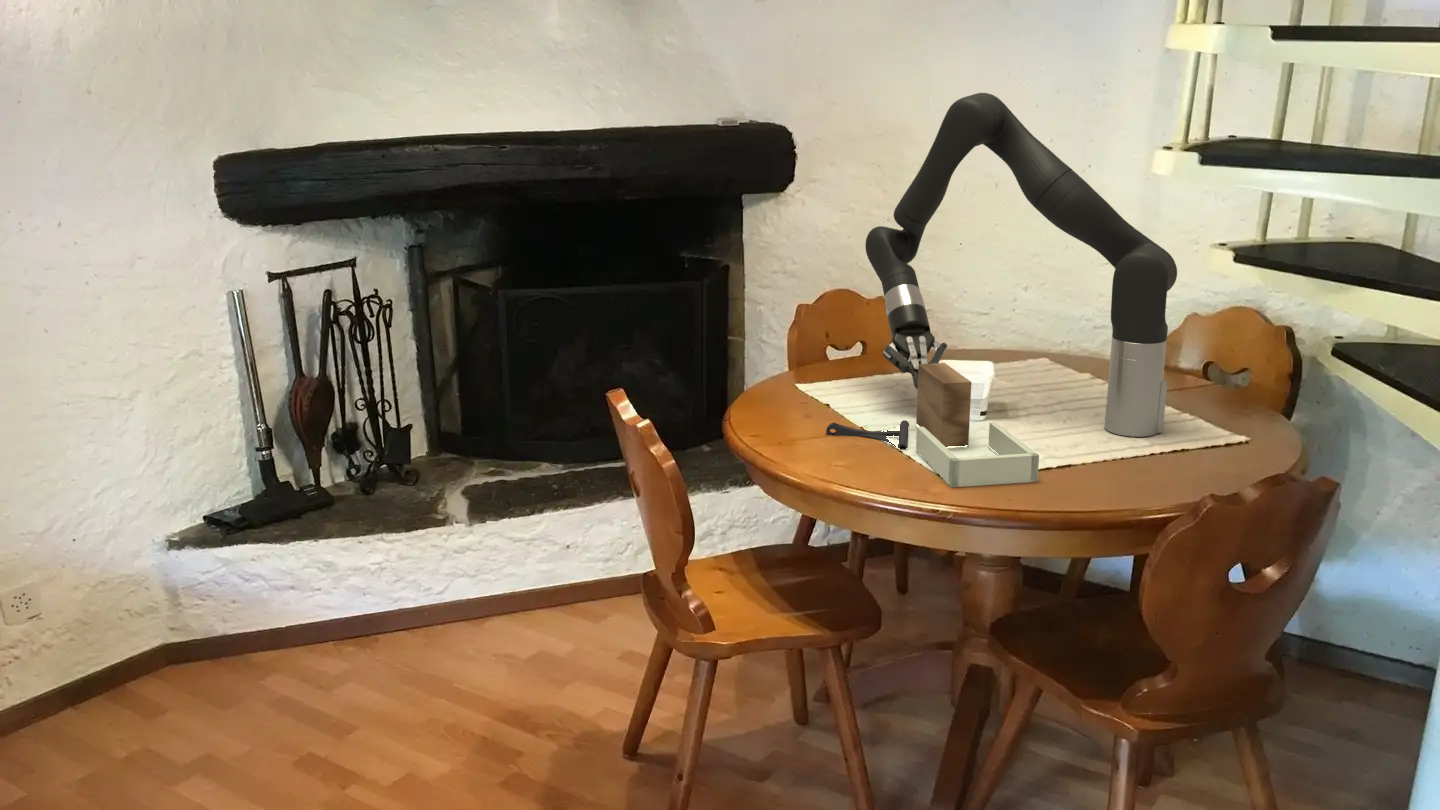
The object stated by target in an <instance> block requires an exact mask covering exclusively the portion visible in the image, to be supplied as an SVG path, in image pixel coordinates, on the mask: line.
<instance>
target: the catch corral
mask: <svg viewBox="0 0 1440 810" xmlns="http://www.w3.org/2000/svg"><path fill="white" fill-rule="evenodd" d="M988 432H989V433H988V445H989V446H990V447H991V448H992V449H993V450H995V451H996V452H997V453H998V454H999V455H997V454H996V455H994V454H993V455H981V456H967V457H957V456H956V455H955V454H954V453H953V452H951V451H950V449H947V448H946V447H945V446H944V445H943V444H942V443H941V442H940V441H938V440H937V439H936V438H935V437H934V436H933V435H932V434H931V433H930V432H929V431H928V430H927V429H926V428H925V427H917V426H916V436H915V438H916V441H915V451H916V450H917V452H918V453H919V454H920V455H921V456H922V457H923V458H924V459H925V460H926V461H927V462H928V463H929V464H930V465H931V466H932V467H933V468H934V469H933V468H932V467H931V466H930V465H929V464H928V463H927V462H926V461H925V460H924V459H923V458H922V457H921V456H920V455H919V454H918V453H917V452H916V453H917V454H918V455H919V456H920V457H921V458H922V459H923V460H924V461H925V462H926V463H927V464H928V465H929V466H930V467H931V468H932V469H933V471H934V472H935V473H936V474H937V473H938V474H939V475H940V476H939V475H938V474H937V475H938V476H939V477H940V478H941V479H942V478H943V479H942V480H943V481H944V482H945V483H946V484H947V485H948V486H949V487H950V488H961V487H962V488H963V487H978V486H979V487H980V486H992V485H993V486H994V485H1009V484H1025V483H1037V482H1038V478H1039V466H1040V464H1039V463H1040V455H1039V454H1038V452H1036V451H1035V450H1033V449H1032V448H1031V447H1029V446H1028V445H1027V444H1025V443H1024V442H1023V441H1021V440H1020V439H1019V438H1017V437H1016V436H1015V435H1013V433H1011V432H1010V431H1008V429H1006V428H1004V426H1001V425H1000V424H999V423H998V422H996V421H995V422H989V429H988Z"/></svg>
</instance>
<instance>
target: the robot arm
mask: <svg viewBox="0 0 1440 810" xmlns="http://www.w3.org/2000/svg"><path fill="white" fill-rule="evenodd" d="M980 145H983V146H985V147H987V148H988V149H989V150H990V151H991V152H993V153H994V154H995V155H997V156H998V158H1000V159H1001V160H1002V161H1003V162H1004V163H1005V164H1006V165H1007V166H1008V167H1009V169H1010V171H1011V172H1012V174H1013V176H1014V177H1015V180H1016V182H1017V184H1018V186H1019V188H1020V190H1021V192H1022V194H1023V195H1024V197H1025V199H1026V200H1027V201H1028V202H1029V204H1031V206H1032V207H1033V208H1035V210H1037V212H1039V213H1040V214H1041V215H1042V216H1043V217H1045V219H1046V220H1047V221H1049V222H1050V223H1051V224H1052V225H1054V226H1055V227H1057V228H1058V229H1059V230H1061V231H1062V232H1064V233H1066V235H1067V234H1068V235H1069V236H1071V237H1072V238H1075V239H1076V240H1078V241H1080V242H1082V243H1084V244H1085V245H1087V246H1089V247H1091V248H1092V249H1094V250H1095V251H1096V252H1098V253H1099V254H1100V255H1101V256H1102V257H1103V258H1104V259H1105V260H1106V261H1107V262H1108V263H1109V264H1110V265H1111V266H1112V267H1113V268H1114V272H1113V276H1112V284H1111V286H1112V287H1111V302H1110V303H1111V304H1110V322H1111V326H1112V333H1111V343H1110V358H1109V359H1110V360H1109V368H1108V370H1109V371H1108V381H1107V382H1108V383H1107V392H1106V394H1107V395H1106V404H1105V406H1106V407H1105V416H1104V429H1105V430H1106V431H1108V432H1109V433H1112V434H1115V435H1120V436H1124V437H1125V436H1126V437H1134V438H1135V437H1137V438H1141V437H1151V436H1154V435H1156V434H1162V433H1163V431H1164V424H1165V423H1164V421H1165V410H1166V401H1167V392H1168V391H1167V390H1168V382H1167V381H1166V380H1165V379H1164V371H1165V370H1164V369H1165V362H1166V353H1167V351H1166V350H1167V341H1168V330H1169V328H1168V327H1169V326H1168V324H1167V323H1168V322H1167V321H1166V309H1167V297H1168V291H1170V290H1171V289H1172V288H1173V287H1174V285H1175V283H1176V281H1177V277H1178V268H1177V265H1176V262H1175V260H1174V258H1173V256H1172V255H1171V253H1169V252H1168V251H1167V250H1165V249H1164V248H1163V247H1161V246H1160V245H1159V244H1157V243H1156V242H1154V241H1153V240H1152V239H1150V238H1149V237H1148V236H1146V235H1144V234H1143V233H1142V232H1141V231H1139V230H1138V229H1136V227H1134V226H1132V225H1131V224H1130V223H1129V222H1128V221H1127V220H1125V219H1124V218H1123V217H1122V216H1121V215H1120V214H1119V213H1118V212H1117V211H1116V210H1115V208H1113V206H1112V205H1110V203H1108V201H1106V200H1105V198H1104V197H1102V196H1101V194H1099V193H1098V192H1097V191H1096V190H1095V189H1094V188H1093V187H1092V186H1091V185H1090V184H1089V183H1088V182H1087V181H1085V179H1084V178H1082V177H1081V176H1080V175H1079V174H1078V173H1077V172H1076V171H1074V170H1073V168H1071V167H1070V166H1069V165H1068V164H1066V163H1065V162H1064V161H1063V160H1061V159H1060V158H1059V156H1057V155H1056V154H1055V153H1054V152H1053V151H1051V150H1050V148H1048V147H1047V146H1046V145H1045V144H1044V143H1042V142H1041V141H1040V140H1038V139H1037V138H1036V137H1035V136H1034V134H1032V133H1031V131H1029V130H1028V129H1027V128H1026V126H1025V125H1024V124H1023V123H1022V122H1021V121H1020V120H1019V118H1018V117H1017V116H1016V115H1015V114H1013V112H1012V110H1010V108H1008V106H1007V105H1006V104H1005V103H1004V102H1003V101H1002V99H1000V98H998V96H995V95H994V94H991V93H988V92H977V93H974V94H971V95H967V96H964V97H961V98H959V99H957V100H955V101H954V102H953V103H952V104H951V105H950V107H949V108H948V109H947V111H946V113H945V115H944V117H943V119H942V122H941V125H940V127H939V129H938V132H937V134H936V137H935V138H934V140H933V143H932V145H931V147H930V150H929V151H928V154H927V155H926V157H925V160H924V161H923V163H922V165H921V166H920V169H919V170H918V172H917V173H916V175H915V177H914V179H913V180H912V182H911V183H910V185H909V186H908V188H907V189H906V191H905V193H904V194H903V195H902V197H901V199H900V200H899V202H898V203H897V204H896V206H895V208H894V211H893V220H894V221H895V222H896V224H897V225H898V226H900V228H902V229H897V228H893V227H888V226H876V227H873V228H872V229H871V230H869V232H868V234H867V236H866V239H865V244H864V245H865V246H864V247H865V252H866V256H867V259H868V260H869V263H870V264H871V267H872V268H873V271H874V272H875V273H876V276H877V277H878V278H879V280H880V283H881V286H882V287H881V288H882V292H883V297H884V301H885V302H884V303H885V311H886V313H885V315H886V317H887V320H888V325H889V331H890V334H891V341H890V344H888V345H887V344H886V345H885V347H884V350H883V351H882V357H884V358H885V359H886V360H887V361H888V362H890V363H891V364H892V365H893V366H894V367H896V368H897V369H898V370H899V371H900V372H901V373H903V374H905V373H909V374H911V377H912V381H913V386H914V388H915V389H916V390H918V364H931V363H940V362H939V361H940V360H941V358H942V357H943V355H944V353H945V351H946V349H947V348H948V344H947V343H946V342H941V343H940V342H938V341H937V340H936V338H935V336H934V335H933V333H932V331H931V327H930V322H929V317H928V313H927V309H926V306H925V301H924V298H923V295H922V293H921V290H920V286H919V282H918V277H917V274H916V273H917V272H916V271H915V269H914V267H912V266H911V265H910V264H909V263H911V262H912V261H913V260H914V259H915V258H916V256H917V253H918V251H919V247H920V244H921V242H922V241H921V240H922V238H923V235H924V233H925V230H926V226H927V225H928V223H929V222H930V220H931V219H932V217H934V214H935V213H936V212H937V210H938V208H939V207H940V205H941V204H942V202H943V200H944V198H945V196H946V193H947V192H948V191H947V190H948V187H949V184H950V181H951V178H952V176H953V175H954V172H955V170H956V169H957V167H958V166H959V165H960V164H961V162H962V161H963V160H964V158H965V157H966V156H968V154H969V153H970V152H972V150H973V149H974V148H975V147H978V146H979V147H980ZM931 349H933V350H932V352H933V354H934V355H933V357H932V358H931V360H930V361H928V355H929V353H930V351H931Z"/></svg>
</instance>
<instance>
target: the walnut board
mask: <svg viewBox="0 0 1440 810" xmlns="http://www.w3.org/2000/svg"><path fill="white" fill-rule="evenodd" d="M916 392H917V394H916V398H917V400H916V424H918V425H919V426H920V427H925V428H926V429H927V430H928V431H929V432H930V433H931V434H932V435H933V436H934V437H935V438H936V439H937V440H938V441H940V442H941V443H942V444H943V445H944V446H945V447H948V446H965V445H968V446H969V441H970V439H969V438H970V421H971V420H970V419H971V418H970V416H971V403H972V401H971V398H972V397H971V396H972V381H971V380H969V379H968V378H967V377H965V376H964V375H962V374H961V373H960V372H958V371H957V370H955V369H954V368H952V367H951V366H950V365H949V364H947V363H946V362H938V363H931V364H918V389H917V391H916Z"/></svg>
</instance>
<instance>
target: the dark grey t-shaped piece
mask: <svg viewBox="0 0 1440 810" xmlns="http://www.w3.org/2000/svg"><path fill="white" fill-rule="evenodd" d="M900 423H901V424H899V425H900V431H888V430H887V432H884V431H883V432H881V431H882V430H864V429H859V428H853V427H849V426H846V425H843V424H839V423H836V422H831V423H829V424H828V425H827V427H826V431H825V433H826V436H838V437H840V436H841V437H863V438H870V439H874V440H878V439H879V441H881V440H883V441H882V442H884V441H886V442H889V440H888V439H886V438H887V437H886V436H893V435H894V436H899V438H898V440H899V444H898V448H900V449H901V447H904V448H908V446H909V433H908V427H909V428H910V423H909V422H908V420H904V419H903V420H902V421H901V422H900ZM831 430H834V432H832V431H831ZM886 442H885V443H886ZM889 443H891V442H889ZM891 444H892V443H891ZM892 445H894V444H892ZM892 445H891V446H892ZM894 446H895V445H894ZM895 447H896V446H895ZM895 447H894V448H895ZM908 449H909V448H908Z"/></svg>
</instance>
